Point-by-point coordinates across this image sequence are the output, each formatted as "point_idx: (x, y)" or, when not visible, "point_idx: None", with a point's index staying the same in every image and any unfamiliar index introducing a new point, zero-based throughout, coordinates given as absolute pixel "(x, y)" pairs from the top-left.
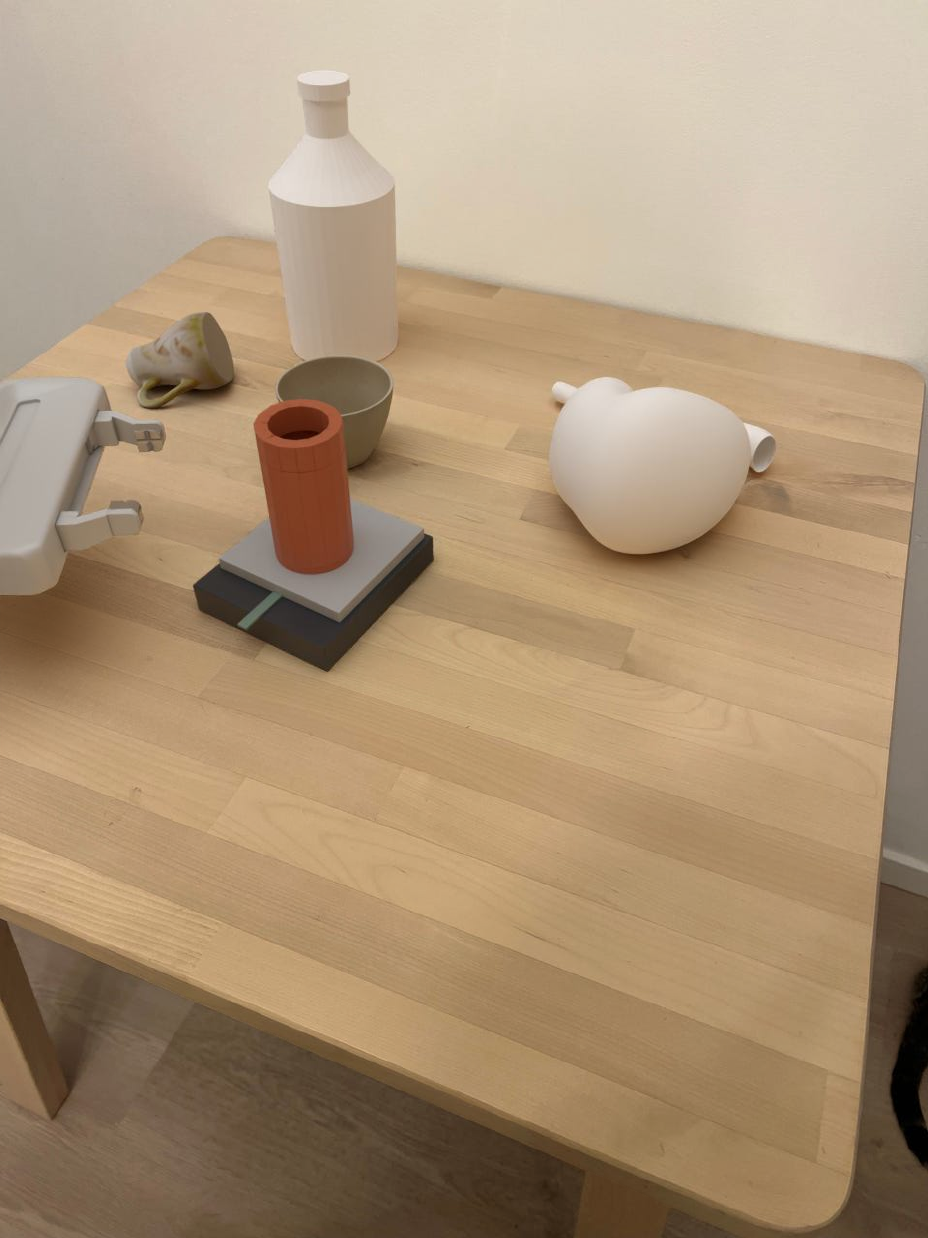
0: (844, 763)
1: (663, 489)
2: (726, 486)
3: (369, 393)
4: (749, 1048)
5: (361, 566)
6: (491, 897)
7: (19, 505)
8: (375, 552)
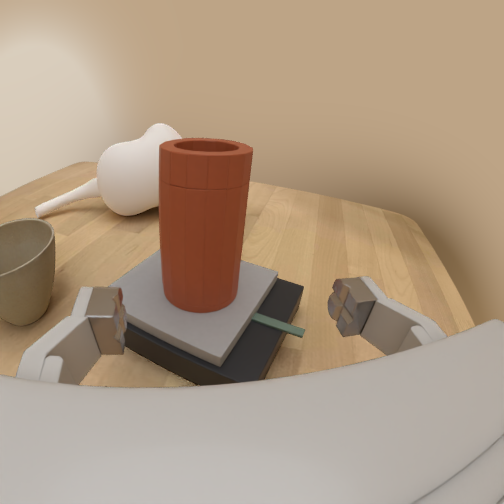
0: (286, 190)
1: None
2: None
3: (1, 256)
4: (387, 217)
5: None
6: (386, 251)
7: (483, 382)
8: None
